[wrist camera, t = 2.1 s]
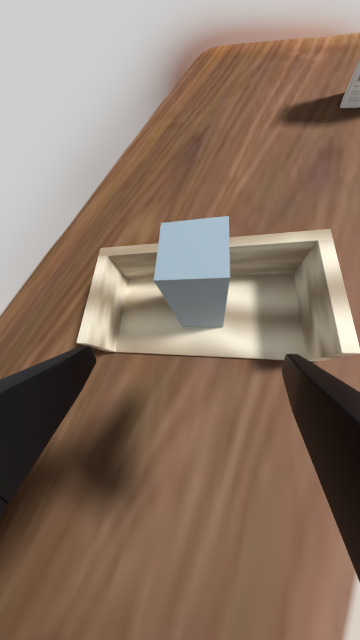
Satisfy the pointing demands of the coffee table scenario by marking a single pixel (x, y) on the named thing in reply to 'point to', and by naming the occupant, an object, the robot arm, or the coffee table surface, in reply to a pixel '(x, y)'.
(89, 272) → the coffee table surface
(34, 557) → the coffee table surface
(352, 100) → the ink box
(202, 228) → the pale blue block
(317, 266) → the birch crate
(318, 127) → the coffee table surface
